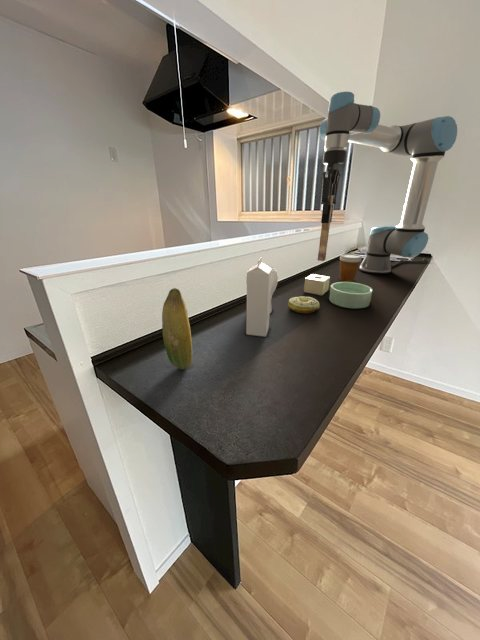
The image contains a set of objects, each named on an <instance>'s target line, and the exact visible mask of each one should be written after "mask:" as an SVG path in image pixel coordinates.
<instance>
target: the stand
mask: <svg viewBox="0 0 480 640" xmlns="http://www.w3.org/2000/svg"><path fill="white" fill-rule="evenodd" d="M330 280H331V276H326V275H320V274H316V273H315V274H314V273H311V274H310V275H308V276H307V277H305V279H304V287H303V293H308V294H313V295H318V296H323V295H325V293H326V292H328V291H329V286H330Z"/></svg>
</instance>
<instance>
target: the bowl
mask: <svg viewBox="0 0 480 640" xmlns="http://www.w3.org/2000/svg"><path fill="white" fill-rule="evenodd" d="M373 291H374V290H373V287H371V286H369V285H366V284H363V283H360V282H355V281H353V282H342V281H338V282H333V283H331V285H330V290H329V295H328V300H329V301H330V303H331V304H333V305H335V306H338V307H341V308H347V309H364V308H367V307H369V306H370V305H371V300H372V296H373Z"/></svg>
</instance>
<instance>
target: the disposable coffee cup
mask: <svg viewBox="0 0 480 640" xmlns="http://www.w3.org/2000/svg"><path fill="white" fill-rule="evenodd" d="M339 260H340V261H339V282H355V278H356V275H357V272H358V269H359V267H360V264H361V263H360V262H361V261H362V256H361V255H360V254H356V253H343V254H341V255H340V257H339Z"/></svg>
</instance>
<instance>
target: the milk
mask: <svg viewBox="0 0 480 640" xmlns="http://www.w3.org/2000/svg"><path fill="white" fill-rule="evenodd" d="M270 267H271V266H268V265H267V264H266V263H264V262H263V257H262V256H260V258H259V259H258V260H257V264H255V265H253V266H251V267H250V268H251V269H250V270H249V271H248V270H247V272H246V277H247V283H246V321H245V323H246V326H245V327H246V329H245V330H246V332H245V333H246V334H245V335H247V336H257V337H263V338H264V337H265V338H267V335H268V332H269V329H270V317H271V313H270V296H271V276H272V268H273V267H272V268H270Z"/></svg>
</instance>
